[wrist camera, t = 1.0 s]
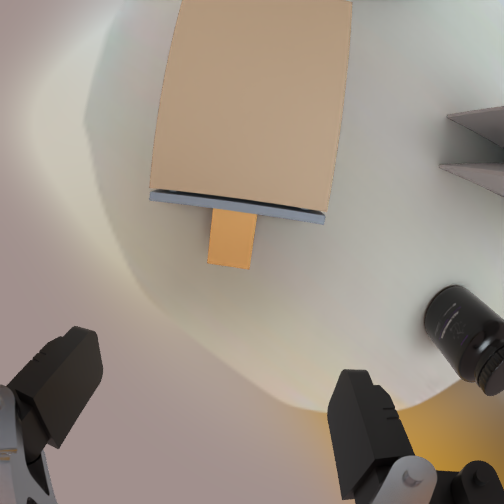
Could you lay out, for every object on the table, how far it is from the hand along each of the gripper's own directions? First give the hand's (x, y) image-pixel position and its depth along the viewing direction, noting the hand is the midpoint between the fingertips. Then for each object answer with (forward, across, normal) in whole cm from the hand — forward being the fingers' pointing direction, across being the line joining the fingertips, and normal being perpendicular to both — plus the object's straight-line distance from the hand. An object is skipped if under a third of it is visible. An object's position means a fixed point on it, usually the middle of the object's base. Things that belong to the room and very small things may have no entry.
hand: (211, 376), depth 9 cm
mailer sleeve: (+18, +1, -12) cm, 22 cm away
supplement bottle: (+18, -23, +6) cm, 30 cm away
